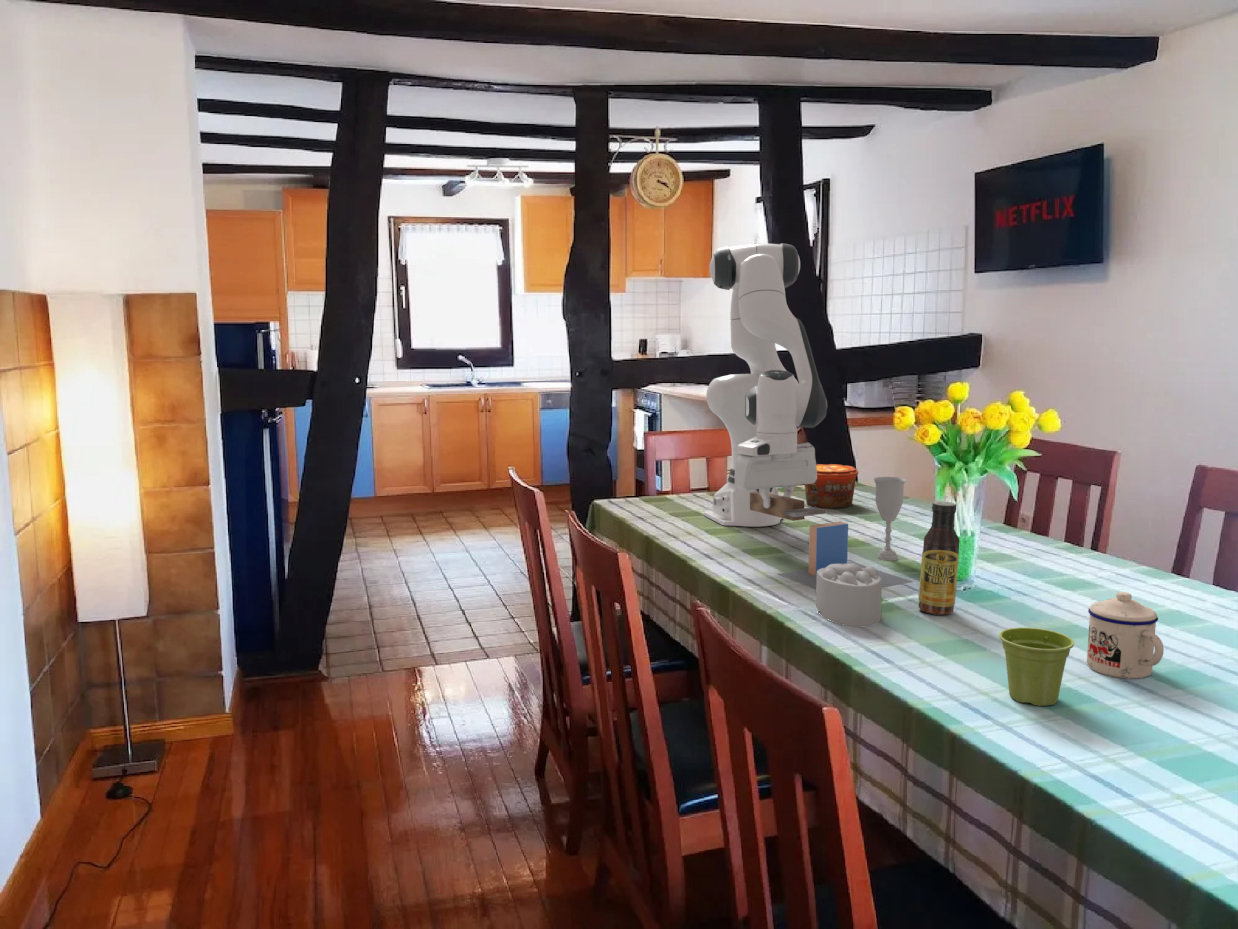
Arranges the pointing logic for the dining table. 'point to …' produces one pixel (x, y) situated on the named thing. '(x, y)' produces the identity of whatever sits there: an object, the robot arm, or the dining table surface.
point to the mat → (811, 580)
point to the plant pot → (1035, 663)
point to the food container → (832, 487)
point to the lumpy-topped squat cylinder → (849, 594)
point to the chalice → (889, 508)
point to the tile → (827, 545)
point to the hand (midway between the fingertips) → (776, 506)
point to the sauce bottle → (939, 562)
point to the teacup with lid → (1123, 638)
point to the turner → (783, 507)
